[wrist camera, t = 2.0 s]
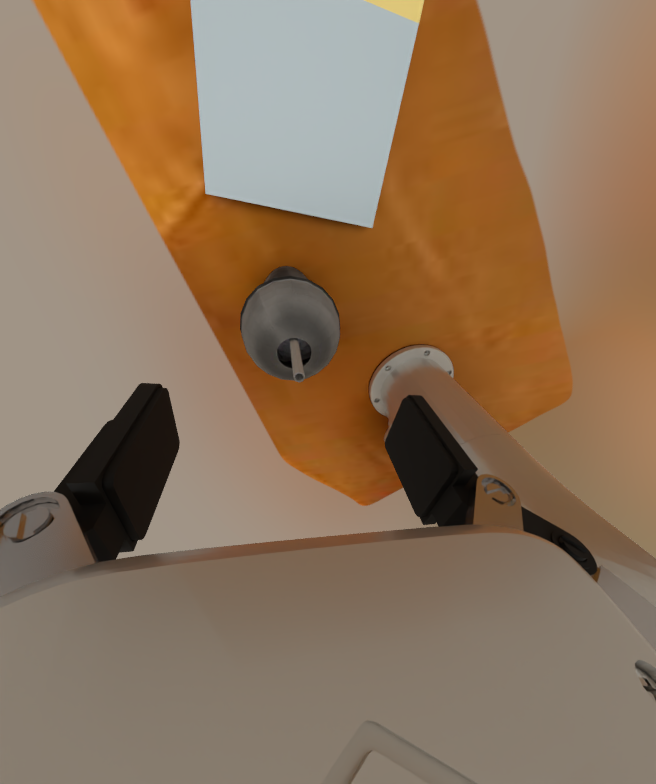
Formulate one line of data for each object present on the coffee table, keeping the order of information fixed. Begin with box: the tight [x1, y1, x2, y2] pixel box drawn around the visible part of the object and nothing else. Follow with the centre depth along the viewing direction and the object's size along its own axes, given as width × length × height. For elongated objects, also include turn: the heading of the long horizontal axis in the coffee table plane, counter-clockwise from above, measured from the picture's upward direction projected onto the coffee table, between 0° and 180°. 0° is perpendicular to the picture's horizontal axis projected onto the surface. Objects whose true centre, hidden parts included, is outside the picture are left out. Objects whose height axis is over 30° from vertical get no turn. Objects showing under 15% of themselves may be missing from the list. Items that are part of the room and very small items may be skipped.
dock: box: [191, 0, 424, 228], centre depth 19 cm, size 14×14×3 cm
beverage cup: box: [240, 266, 340, 382], centre depth 20 cm, size 7×7×20 cm
